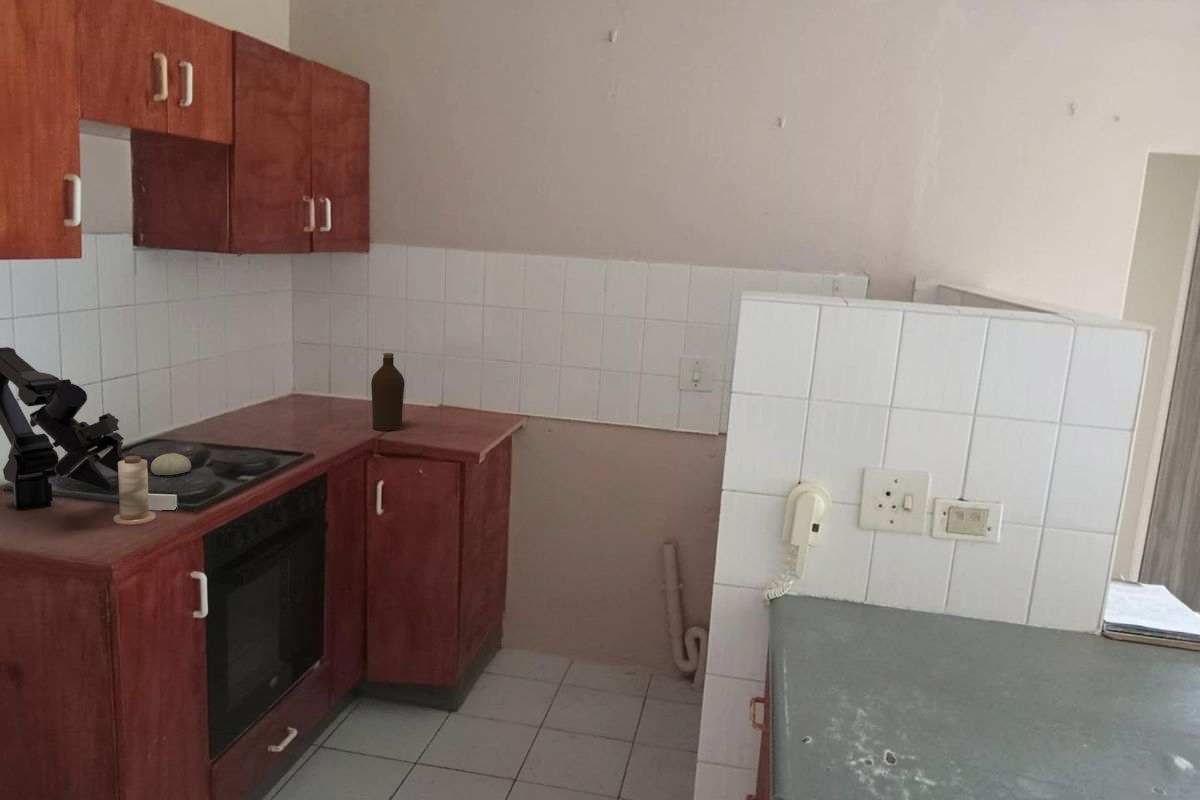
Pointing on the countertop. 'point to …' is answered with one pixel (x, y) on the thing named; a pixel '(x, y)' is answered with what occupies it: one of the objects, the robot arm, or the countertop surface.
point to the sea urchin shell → (170, 464)
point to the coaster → (133, 522)
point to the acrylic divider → (162, 502)
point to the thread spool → (133, 488)
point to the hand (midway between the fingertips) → (120, 482)
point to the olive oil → (387, 396)
